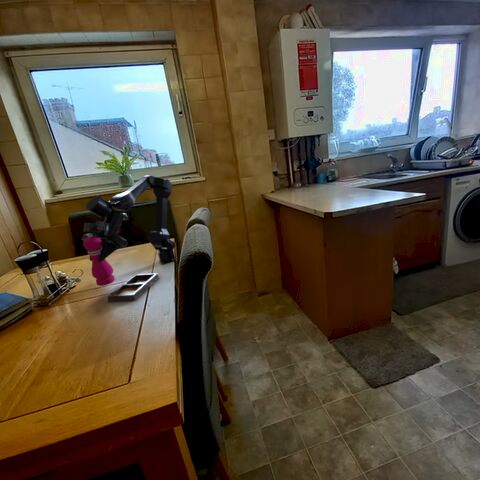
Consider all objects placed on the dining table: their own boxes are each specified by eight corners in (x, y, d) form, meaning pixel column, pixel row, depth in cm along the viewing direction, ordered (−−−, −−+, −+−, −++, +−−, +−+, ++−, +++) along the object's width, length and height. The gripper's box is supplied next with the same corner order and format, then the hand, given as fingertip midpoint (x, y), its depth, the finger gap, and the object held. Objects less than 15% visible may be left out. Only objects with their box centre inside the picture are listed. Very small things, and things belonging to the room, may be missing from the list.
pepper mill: (120, 278, 110) (104, 230, 102) (105, 287, 104) (87, 236, 96) (107, 277, 112) (90, 229, 105) (91, 285, 106) (73, 235, 98)
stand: (158, 277, 117) (157, 273, 116) (134, 300, 99) (133, 294, 98) (136, 279, 118) (134, 274, 117) (108, 301, 100) (106, 296, 99)
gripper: (77, 213, 106) (58, 250, 100) (110, 212, 98) (92, 252, 92) (102, 228, 115) (86, 262, 110) (134, 228, 107) (119, 265, 102)
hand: (95, 261), depth 103 cm, fingers closed on pepper mill, 5 cm apart
